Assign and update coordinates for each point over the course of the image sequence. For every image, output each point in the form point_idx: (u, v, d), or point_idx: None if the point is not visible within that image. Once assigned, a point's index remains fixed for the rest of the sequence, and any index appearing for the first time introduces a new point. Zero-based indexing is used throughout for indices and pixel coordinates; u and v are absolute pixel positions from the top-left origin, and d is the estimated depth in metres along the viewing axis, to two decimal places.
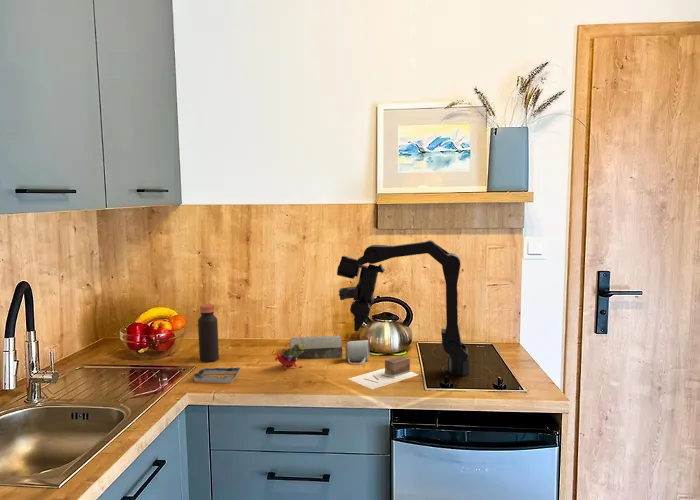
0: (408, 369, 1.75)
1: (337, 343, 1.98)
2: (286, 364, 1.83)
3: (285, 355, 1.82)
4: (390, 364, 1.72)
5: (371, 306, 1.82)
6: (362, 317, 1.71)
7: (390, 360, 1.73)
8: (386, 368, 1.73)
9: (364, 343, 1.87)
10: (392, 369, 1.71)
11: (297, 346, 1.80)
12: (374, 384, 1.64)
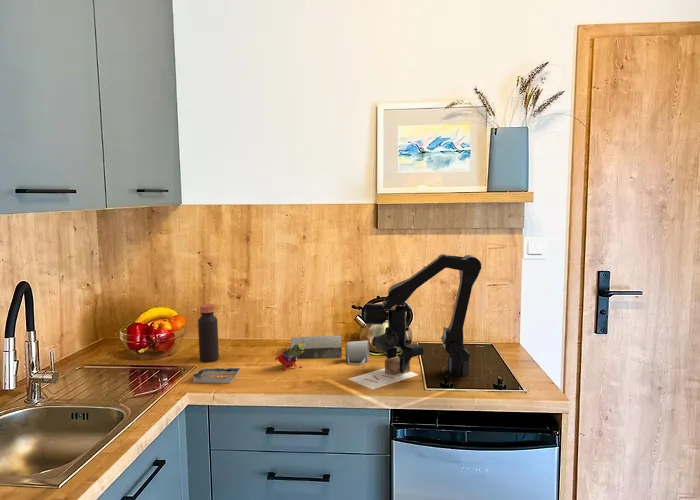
0: (408, 369, 1.75)
1: (337, 343, 1.98)
2: (286, 364, 1.83)
3: (285, 355, 1.82)
4: (390, 364, 1.72)
5: None
6: (408, 357, 1.72)
7: (390, 360, 1.73)
8: (386, 368, 1.73)
9: (364, 343, 1.87)
10: (392, 369, 1.71)
11: (297, 346, 1.80)
12: (374, 384, 1.64)
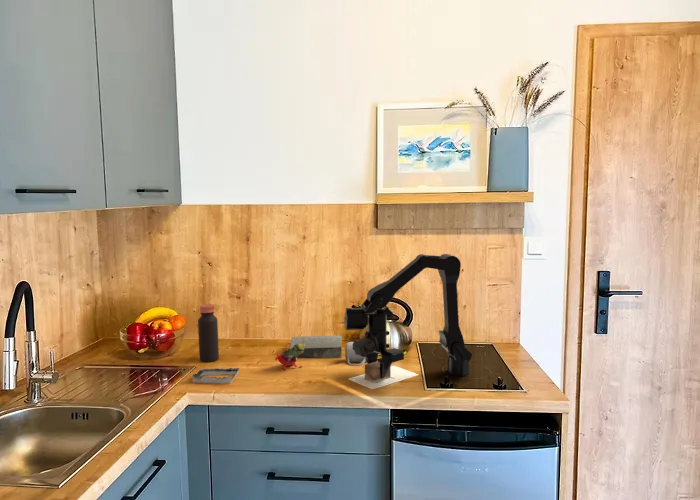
0: (389, 374, 1.69)
1: (337, 343, 1.98)
2: (286, 364, 1.83)
3: (285, 355, 1.82)
4: (370, 370, 1.66)
5: None
6: (388, 362, 1.66)
7: (370, 365, 1.68)
8: (366, 373, 1.68)
9: None
10: (371, 375, 1.66)
11: (297, 346, 1.80)
12: (374, 384, 1.64)
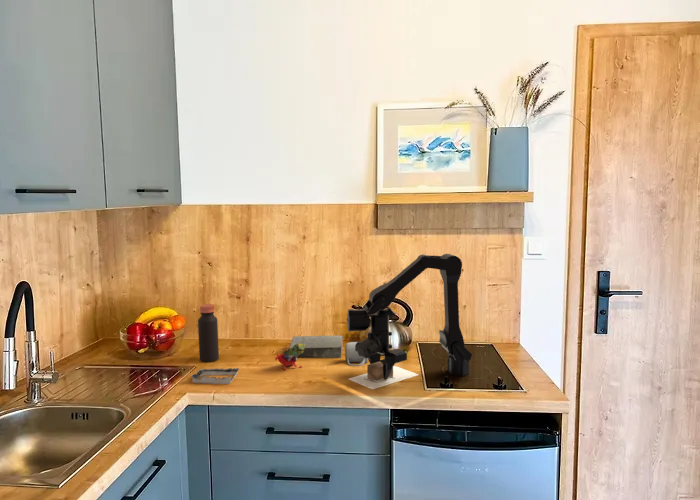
0: (391, 374, 1.70)
1: (337, 343, 1.98)
2: (286, 364, 1.83)
3: (285, 355, 1.82)
4: (373, 370, 1.67)
5: None
6: (391, 363, 1.67)
7: (373, 365, 1.68)
8: (369, 373, 1.68)
9: None
10: (374, 375, 1.66)
11: (297, 346, 1.80)
12: (374, 384, 1.64)
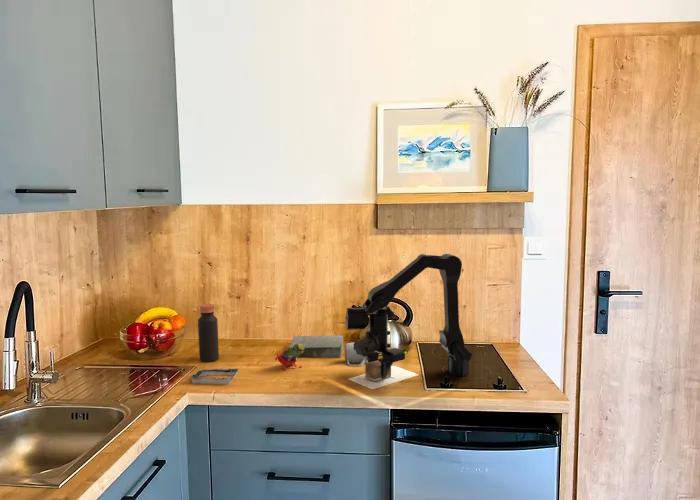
0: (389, 373, 1.70)
1: (337, 343, 1.98)
2: (286, 364, 1.83)
3: (285, 355, 1.82)
4: (371, 368, 1.67)
5: None
6: (389, 362, 1.67)
7: (371, 364, 1.68)
8: (366, 372, 1.68)
9: None
10: (372, 374, 1.66)
11: (297, 346, 1.80)
12: (374, 384, 1.64)
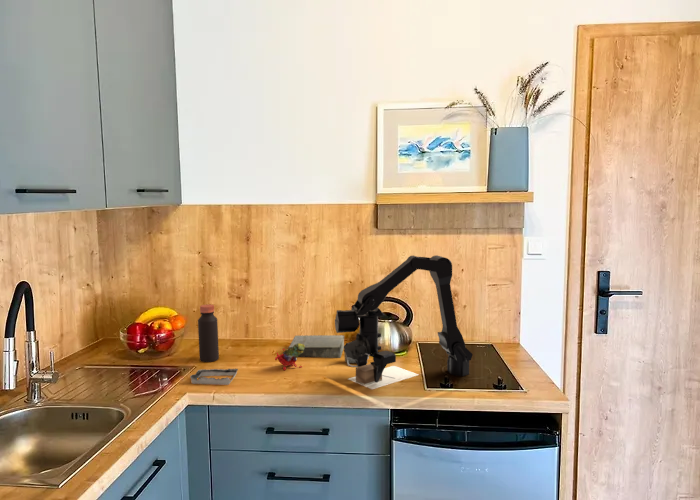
0: (380, 377, 1.67)
1: (337, 343, 1.98)
2: (286, 364, 1.83)
3: (285, 355, 1.82)
4: (361, 373, 1.64)
5: None
6: (382, 365, 1.63)
7: (361, 368, 1.65)
8: (357, 376, 1.66)
9: None
10: (362, 378, 1.64)
11: (297, 346, 1.80)
12: (374, 384, 1.64)
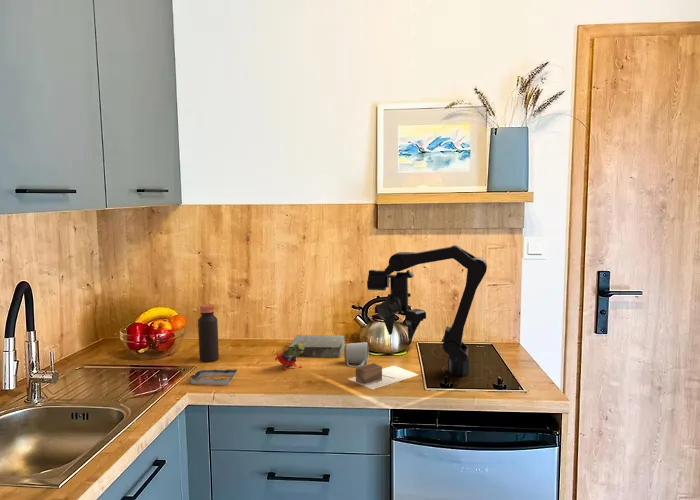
0: (380, 377, 1.67)
1: (337, 343, 1.98)
2: (286, 364, 1.83)
3: (285, 355, 1.82)
4: (361, 373, 1.64)
5: (395, 313, 1.83)
6: (416, 323, 1.73)
7: (361, 368, 1.65)
8: (357, 376, 1.66)
9: (363, 345, 1.85)
10: (362, 378, 1.64)
11: (297, 346, 1.80)
12: (374, 384, 1.64)
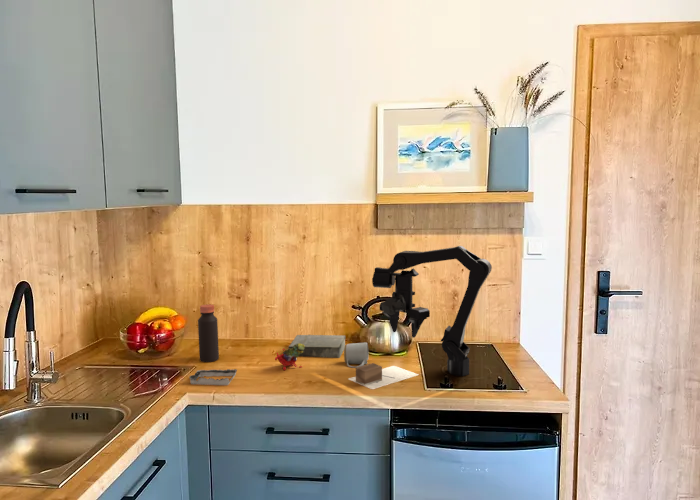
0: (380, 377, 1.67)
1: (337, 343, 1.98)
2: (286, 364, 1.83)
3: (285, 355, 1.82)
4: (361, 373, 1.64)
5: (399, 311, 1.85)
6: (419, 322, 1.75)
7: (361, 368, 1.65)
8: (357, 376, 1.66)
9: (363, 345, 1.84)
10: (362, 378, 1.64)
11: (297, 346, 1.80)
12: (374, 384, 1.64)
